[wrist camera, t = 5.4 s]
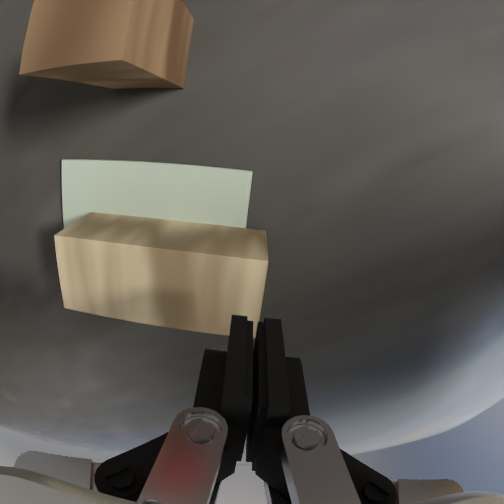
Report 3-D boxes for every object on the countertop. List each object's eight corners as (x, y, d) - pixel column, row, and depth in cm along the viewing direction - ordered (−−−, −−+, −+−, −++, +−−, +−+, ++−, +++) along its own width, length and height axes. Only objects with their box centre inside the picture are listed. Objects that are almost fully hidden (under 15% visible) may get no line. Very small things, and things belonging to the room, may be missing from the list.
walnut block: (193, 19, 13) (147, -52, 6) (183, 88, 15) (122, 60, 7) (123, 22, 13) (42, -27, 6) (113, 88, 14) (19, 74, 7)
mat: (252, 171, 16) (252, 171, 16) (233, 333, 20) (233, 335, 20) (64, 159, 16) (61, 159, 15) (76, 307, 19) (74, 309, 19)
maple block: (268, 261, 13) (54, 235, 13) (256, 338, 15) (64, 308, 14) (265, 230, 17) (90, 212, 17) (256, 296, 18) (94, 274, 18)
